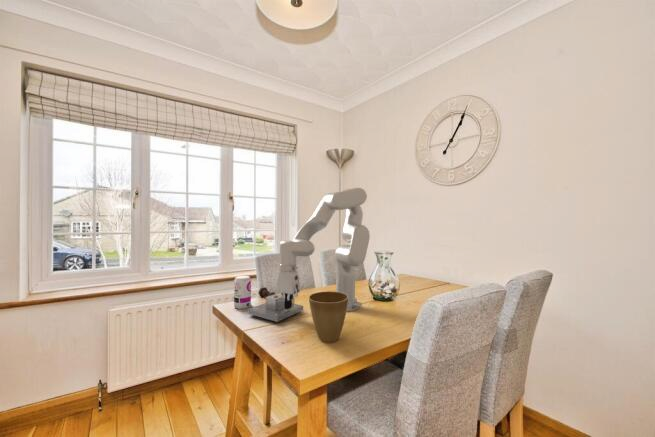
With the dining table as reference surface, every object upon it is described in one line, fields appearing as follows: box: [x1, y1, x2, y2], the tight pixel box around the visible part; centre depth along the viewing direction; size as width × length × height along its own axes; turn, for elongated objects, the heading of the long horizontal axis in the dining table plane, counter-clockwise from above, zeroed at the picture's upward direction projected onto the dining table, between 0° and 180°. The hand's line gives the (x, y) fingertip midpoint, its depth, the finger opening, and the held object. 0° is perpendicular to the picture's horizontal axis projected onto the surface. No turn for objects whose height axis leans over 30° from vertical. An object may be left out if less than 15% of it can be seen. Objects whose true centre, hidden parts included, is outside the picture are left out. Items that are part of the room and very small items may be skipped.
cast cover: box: [265, 293, 284, 310], centre depth 132 cm, size 6×6×5 cm
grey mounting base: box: [247, 297, 304, 323], centre depth 133 cm, size 18×20×7 cm
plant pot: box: [308, 290, 348, 343], centre depth 107 cm, size 15×15×16 cm
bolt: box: [257, 286, 276, 298], centre depth 156 cm, size 6×5×15 cm
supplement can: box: [233, 275, 252, 310], centre depth 143 cm, size 8×8×15 cm
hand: (288, 308), depth 128 cm, fingers closed
